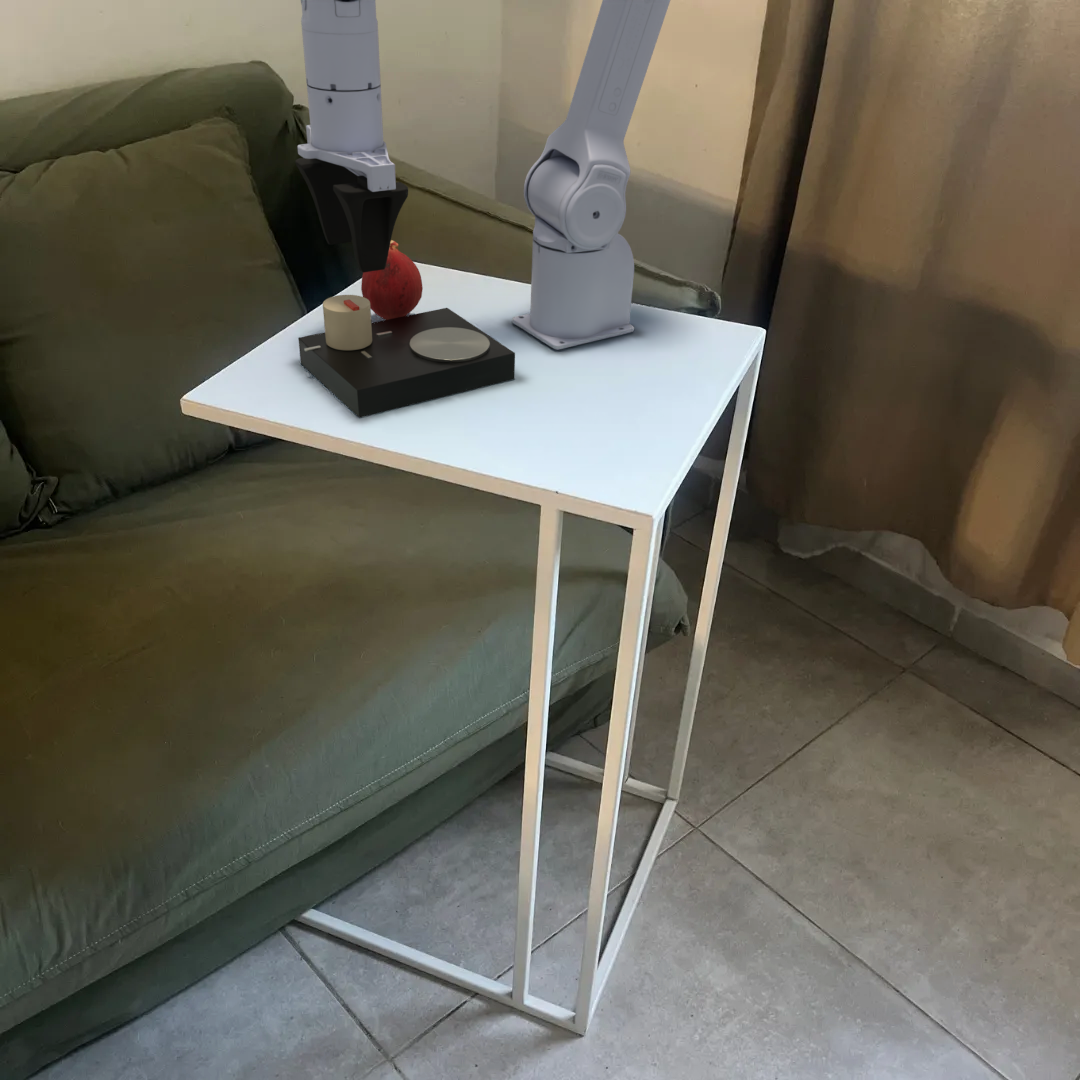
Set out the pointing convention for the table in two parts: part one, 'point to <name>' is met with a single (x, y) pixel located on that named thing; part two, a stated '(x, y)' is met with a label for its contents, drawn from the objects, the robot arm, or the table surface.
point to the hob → (401, 365)
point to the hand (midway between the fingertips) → (355, 255)
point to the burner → (449, 345)
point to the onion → (393, 286)
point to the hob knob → (347, 322)
